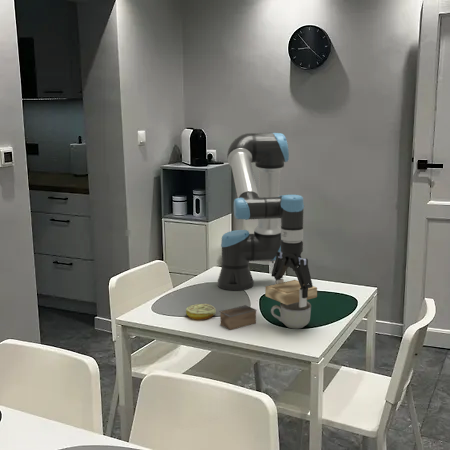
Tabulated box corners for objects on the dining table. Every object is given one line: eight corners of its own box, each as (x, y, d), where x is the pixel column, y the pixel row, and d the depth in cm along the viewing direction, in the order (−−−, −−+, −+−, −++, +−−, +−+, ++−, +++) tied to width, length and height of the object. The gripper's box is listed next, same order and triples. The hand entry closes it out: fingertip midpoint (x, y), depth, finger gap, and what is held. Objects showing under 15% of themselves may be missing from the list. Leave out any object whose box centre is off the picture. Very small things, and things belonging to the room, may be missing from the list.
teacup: (310, 320, 218) (310, 299, 216) (311, 331, 207) (311, 309, 205) (271, 319, 219) (271, 298, 217) (270, 330, 208) (270, 308, 207)
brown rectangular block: (219, 324, 214) (219, 311, 213) (245, 318, 221) (245, 304, 220) (230, 330, 209) (230, 316, 208) (256, 323, 215) (256, 309, 214)
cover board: (265, 296, 212) (265, 285, 211) (294, 289, 219) (294, 278, 218) (286, 304, 202) (287, 293, 202) (316, 297, 210) (317, 286, 209)
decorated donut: (221, 317, 222) (221, 307, 222) (196, 323, 216) (196, 313, 216) (205, 309, 231) (205, 300, 230) (181, 315, 225) (180, 305, 224)
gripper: (261, 236, 214) (261, 295, 219) (307, 248, 195) (306, 313, 200) (278, 233, 219) (277, 291, 223) (324, 245, 199) (322, 309, 204)
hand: (291, 301), depth 211 cm, fingers closed on cover board, 11 cm apart
